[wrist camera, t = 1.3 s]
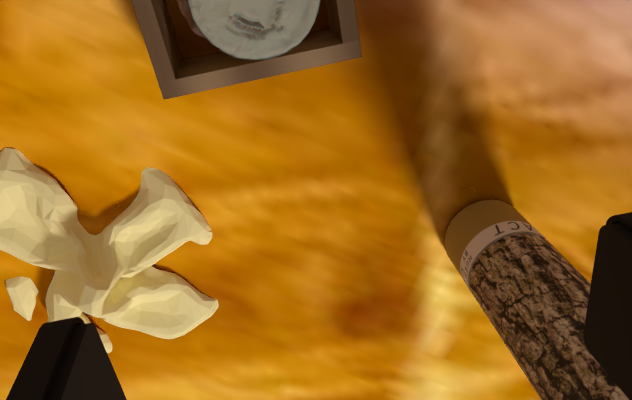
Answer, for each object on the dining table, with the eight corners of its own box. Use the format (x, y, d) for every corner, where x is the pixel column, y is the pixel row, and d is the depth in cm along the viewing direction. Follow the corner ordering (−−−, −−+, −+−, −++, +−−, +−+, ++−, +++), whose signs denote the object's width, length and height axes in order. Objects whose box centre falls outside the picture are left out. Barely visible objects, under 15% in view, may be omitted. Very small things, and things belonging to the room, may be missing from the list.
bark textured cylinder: (487, 274, 47) (710, 578, 25) (426, 249, 45) (612, 559, 23) (533, 213, 45) (824, 489, 23) (471, 183, 43) (726, 458, 21)
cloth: (-68, 147, 36) (-121, 186, 30) (209, 136, 38) (205, 170, 33) (15, 385, 46) (-14, 445, 41) (229, 364, 49) (229, 419, 43)
